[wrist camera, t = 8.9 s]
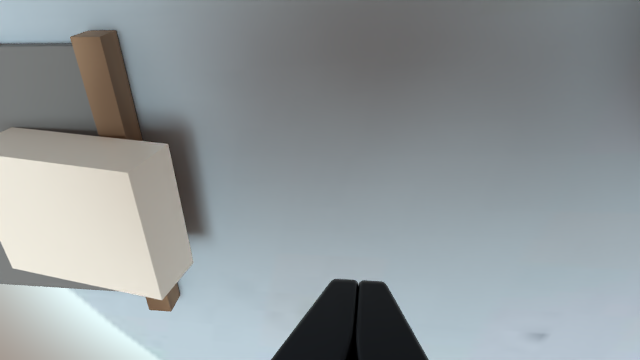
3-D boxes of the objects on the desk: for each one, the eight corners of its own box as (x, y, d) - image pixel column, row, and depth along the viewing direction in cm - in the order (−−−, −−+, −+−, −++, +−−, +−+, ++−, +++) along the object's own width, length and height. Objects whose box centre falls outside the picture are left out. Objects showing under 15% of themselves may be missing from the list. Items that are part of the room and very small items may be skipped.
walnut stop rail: (115, 30, 18) (99, 36, 17) (180, 295, 25) (171, 311, 24) (87, 30, 18) (70, 37, 17) (159, 293, 25) (149, 309, 24)
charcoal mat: (82, 43, 18) (74, 46, 18) (150, 286, 25) (146, 292, 24) (-133, 44, 20) (-145, 47, 19) (-16, 276, 26) (-23, 282, 26)
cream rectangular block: (127, 172, 16) (-42, 150, 18) (162, 300, 19) (12, 268, 21) (170, 142, 18) (14, 125, 20) (195, 260, 21) (56, 235, 23)
